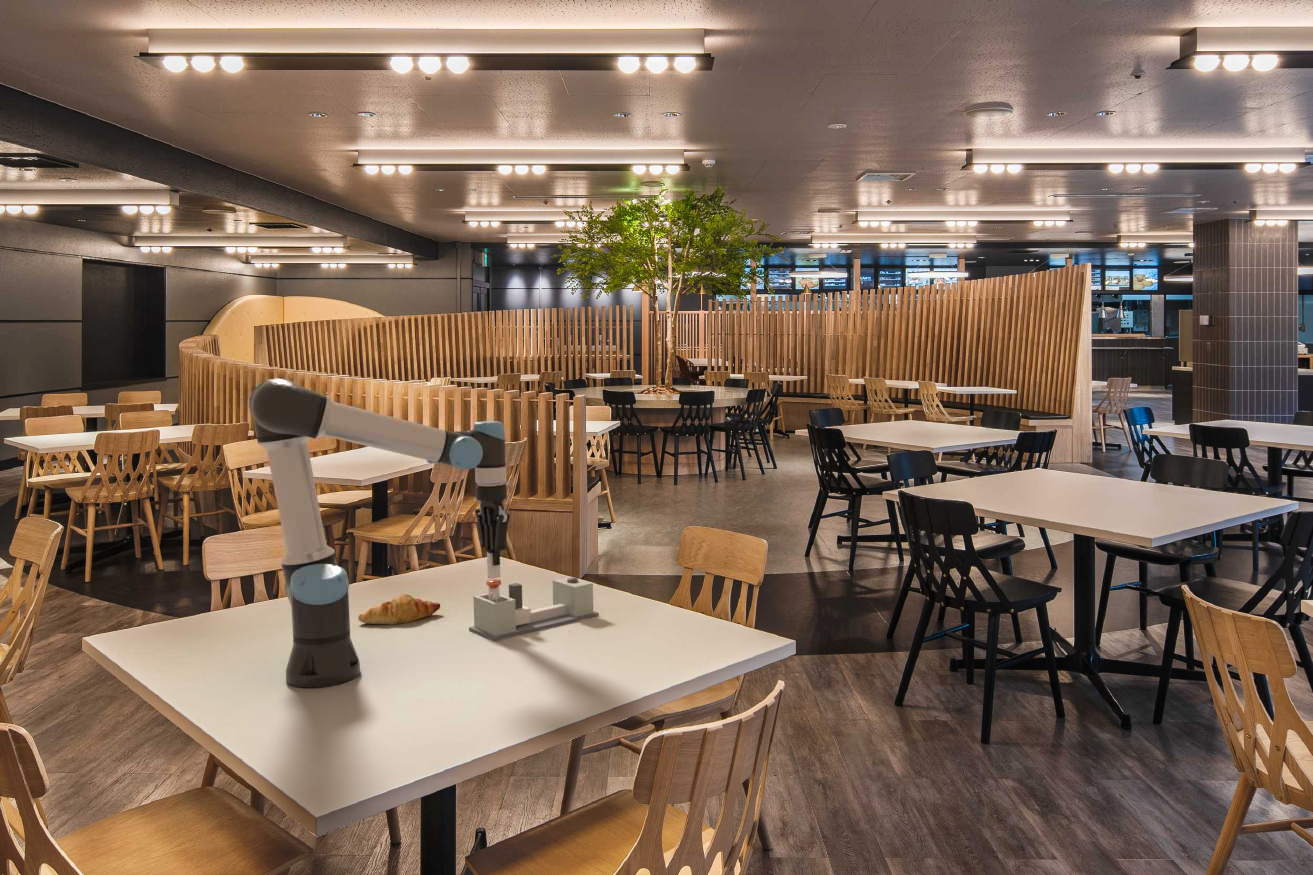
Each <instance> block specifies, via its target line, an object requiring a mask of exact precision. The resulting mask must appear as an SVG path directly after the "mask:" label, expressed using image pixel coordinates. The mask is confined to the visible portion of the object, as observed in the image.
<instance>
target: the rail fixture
mask: <svg viewBox="0 0 1313 875" xmlns="http://www.w3.org/2000/svg"><path fill="white" fill-rule="evenodd" d="M499 599H500V602H496V603H495V602H493V601H490V600H489V592H488V593H483V594H478V595H473V620H474V621H473V626H472V625H471V626H469V627H468V631H469V632H471V633H474V634H477V635H478V636H481V637H483V638H486V639H488V640H490V641H493V642H495V641H497V642H498V641H500V640H504V639H509V638H512V637H517V636H521V635H525V634H529V633H533V632H537V631H542V630H545V629H546V630H547V629H549V628H553V627H558V626H563V625H567V624H570V623H575V622H579V621H583V620H586V619H591V618H595V617H599V616H600V614H599V612H598V611H594V583H593V582H590V581H587V580H584V579H580V578H578V577H573V576H568V577H561V578H557V579H553V580H552V605H548V606H543V607H540V608H539V607H538V608H536V609H535V608H534V609H531V615H530V623H526V624H521V625H517V626H516V611H515V599H512V598H509V596H506V595H503V594H501V593H499Z"/></svg>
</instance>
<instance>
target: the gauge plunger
mask: <svg viewBox="0 0 1313 875" xmlns="http://www.w3.org/2000/svg"><path fill="white" fill-rule="evenodd" d="M500 585H502V580H501V579H498V578H493V579H488V580H486V586H488V593H489V600H490V601H493V602H495V603H496V602H500V599H499V594H500Z"/></svg>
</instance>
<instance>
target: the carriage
mask: <svg viewBox="0 0 1313 875" xmlns="http://www.w3.org/2000/svg"><path fill="white" fill-rule="evenodd" d="M508 597H509V598H512V599H515V611H516V626H517V625H521V624H526V623H530V615H531V610H532V609H531V608H530V607H528V606H526V605H523V584H520V583H518V582H516V583H510V584H508Z"/></svg>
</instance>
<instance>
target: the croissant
mask: <svg viewBox="0 0 1313 875" xmlns="http://www.w3.org/2000/svg"><path fill="white" fill-rule="evenodd" d="M440 609H441V603H440V602H433V601H430V600H422V599H420V598H414V597H413V596H412V595H409V594H405V593H404V594H403V593H401V594H400V595H399V596H396V597H394V598H393V599H392V600H388V601H384V602H382V603H380V604H379V605H378V606H376V607H372V608H369V609H368V610H366V611H365V612H364V613H361V614H359V615H358V616H357V618H358V621H359V622H360V623H364V624H368V625H369V624H371V625H399V624H406V623H410V622H413V621H417V620H420V619H423V618H427V617H429V616H432V615H434V614H436V612H438V611H439V610H440Z"/></svg>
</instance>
